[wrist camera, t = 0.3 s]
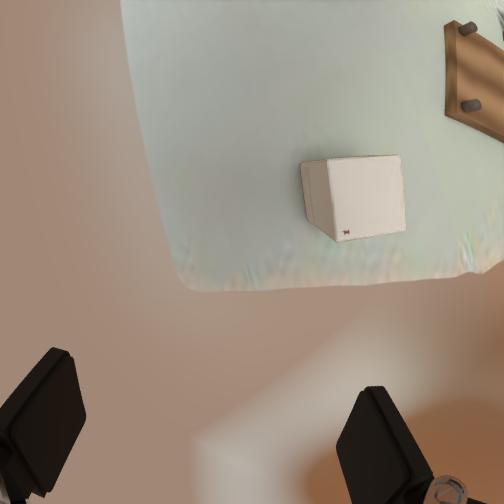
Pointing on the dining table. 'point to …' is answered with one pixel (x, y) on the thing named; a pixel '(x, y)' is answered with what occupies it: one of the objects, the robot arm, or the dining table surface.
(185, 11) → the dining table surface
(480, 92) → the shelf board
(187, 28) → the dining table surface
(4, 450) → the robot arm
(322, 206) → the supplement box
